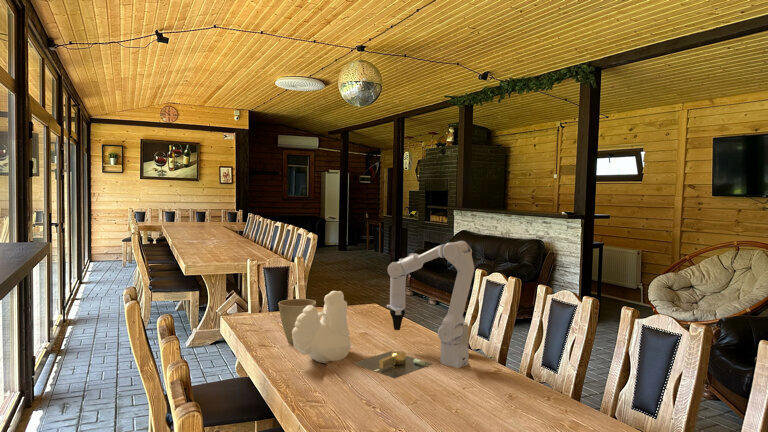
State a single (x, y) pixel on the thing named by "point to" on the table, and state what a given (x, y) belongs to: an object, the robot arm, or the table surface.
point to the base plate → (393, 369)
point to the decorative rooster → (323, 330)
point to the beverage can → (465, 335)
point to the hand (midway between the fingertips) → (397, 329)
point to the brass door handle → (393, 359)
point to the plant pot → (292, 314)
